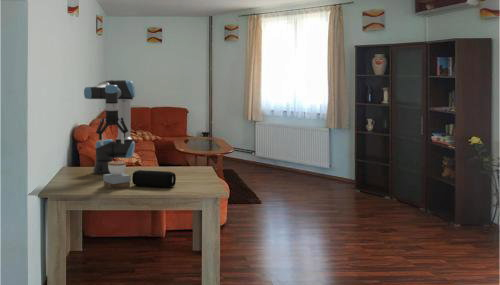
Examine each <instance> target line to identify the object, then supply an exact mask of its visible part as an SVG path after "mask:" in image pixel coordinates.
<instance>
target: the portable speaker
mask: <svg viewBox="0 0 500 285" xmlns="http://www.w3.org/2000/svg"><path fill="white" fill-rule="evenodd" d="M131 179H132V184H133V185H134V186H136V187H148V188H149V187H150V188H163V189H164V188H167V189H170V188H173V187H175V186H176V181H177V178H176V173H175V172H173V171H166V170H165V171H164V170H145V169H144V170H142V169H138V170H135V171H133V173H132V178H131Z"/></svg>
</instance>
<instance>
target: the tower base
mask: <svg viewBox="0 0 500 285" xmlns="http://www.w3.org/2000/svg"><path fill="white" fill-rule="evenodd" d="M103 187H105V188H107V189H109V188H110V189H109V190H118V189H128V188H129V189H130V188H131V182H125V183H117V184H111V183H108V182H105V181H103Z"/></svg>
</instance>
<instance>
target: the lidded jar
mask: <svg viewBox="0 0 500 285" xmlns="http://www.w3.org/2000/svg"><path fill="white" fill-rule="evenodd" d="M126 166H127V165H126V161H124V160H123V161H122V160H119V159H115V161H114V160H113V161H112V162H108V169H109V172H110V173H111V174H112V175H113V176H120V175H122V174H123V173H124V174H125V171H126Z"/></svg>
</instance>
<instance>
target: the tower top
mask: <svg viewBox="0 0 500 285" xmlns="http://www.w3.org/2000/svg"><path fill="white" fill-rule="evenodd" d="M102 175H103V177H102V178H103V180H102V181H103V182H104V181H105V182H108V183H111V184H117V183H125V182H130V183H131V179H132V178H131V174H128V173H127V174H126V173H125V172H124V173H123V174H122V175H120V176H113V175H112V174H102Z"/></svg>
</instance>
